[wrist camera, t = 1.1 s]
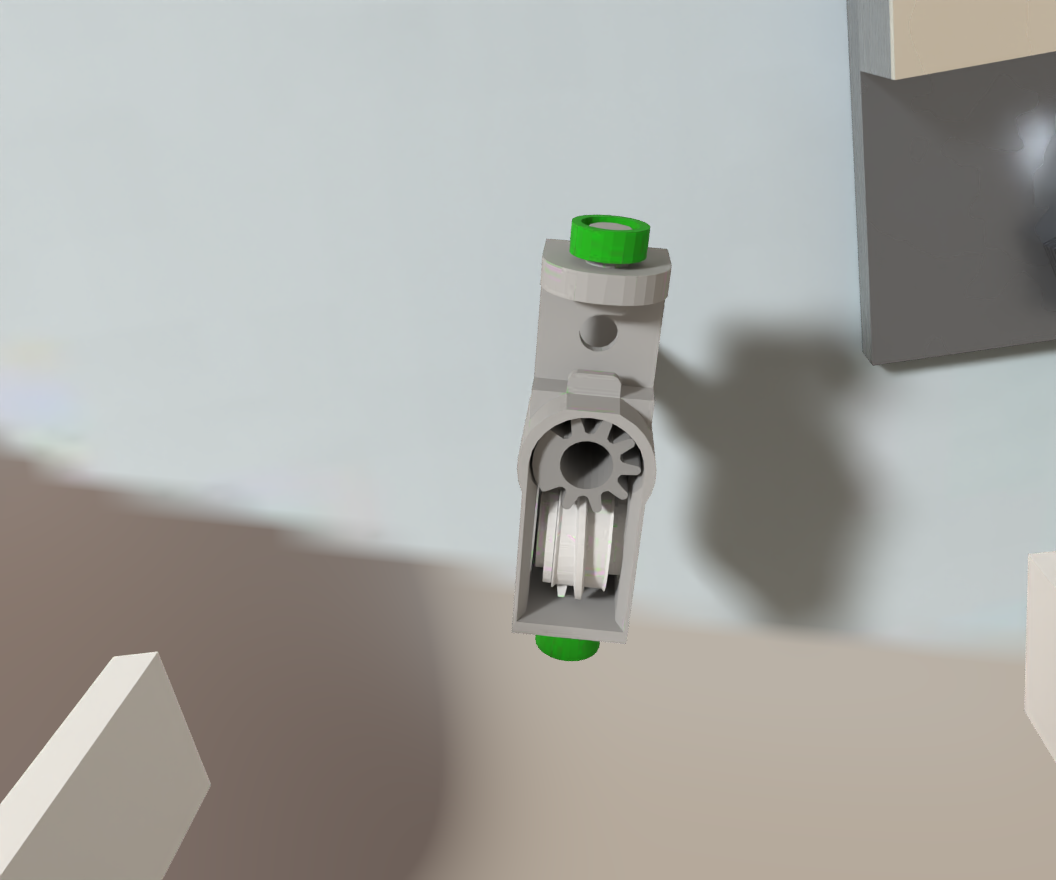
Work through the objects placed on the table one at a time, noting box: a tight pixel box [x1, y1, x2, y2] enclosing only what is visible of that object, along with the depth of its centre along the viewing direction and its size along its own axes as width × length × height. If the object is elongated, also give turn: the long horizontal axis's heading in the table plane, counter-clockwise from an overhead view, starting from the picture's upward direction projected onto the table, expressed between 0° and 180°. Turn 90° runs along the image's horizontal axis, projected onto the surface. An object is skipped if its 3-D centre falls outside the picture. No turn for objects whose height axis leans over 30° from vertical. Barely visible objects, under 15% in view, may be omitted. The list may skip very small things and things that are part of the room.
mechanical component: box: [512, 215, 672, 661], centre depth 25 cm, size 3×10×10 cm, turn 176°
